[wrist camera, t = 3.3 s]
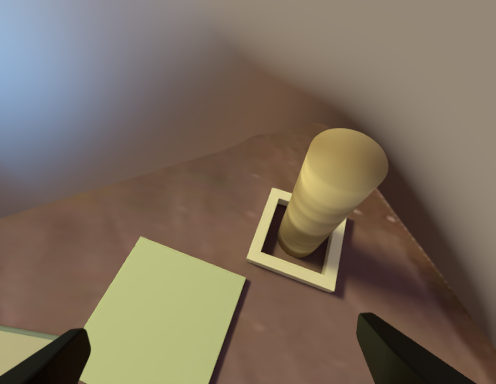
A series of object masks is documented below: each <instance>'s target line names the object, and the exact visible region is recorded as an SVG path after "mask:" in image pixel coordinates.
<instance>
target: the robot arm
mask: <svg viewBox="0 0 496 384" xmlns="http://www.w3.org/2000/svg"><path fill="white" fill-rule="evenodd" d="M356 334H357V339H358V342H359V345H360V347H361V350H362V352H363V355H364V357H365V360H366V362H367V365H368V367H369V370H370V372H371V375H372V377H373V380H374V382H375V384H476V383H475V382H473V381H472V380H470V379H469V378H467V377H466V376H464V375H463V374H461V373H460V372H458V371H457V370H456V369H454V368H453V367H451V366H450V365H448V364H447V363H445V362H444V361H442V360H441V359H439V358H438V357H437V356H435V355H434V354H432V353H431V352H429V351H428V350H426V349H425V348H423V347H422V346H420V345H419V344H417V343H416V342H415V341H413V340H412V339H410V338H409V337H407V336H406V335H404V334H403V333H401V332H400V331H398V330H397V329H396V328H394V327H393V326H391V325H390V324H388V323H387V322H385V321H384V320H382V319H381V318H379V317H378V316H376V315H375V314H373V313H370V312H368V313H360V314H359V315H358V322H357V331H356ZM90 354H91V345H90V341H89V337H88V333H87V330H86V329H84V328H77V329H71V330H69V331H67V332H66V333H64V334H63V335H61V336H60V337H58V338H57V339H55V340H54V341H52V342H51V343H49V344H48V345H46V346H45V347H43V348H42V349H40V350H39V351H37V352H36V353H34V354H32V355H31V356H29V357H28V358H26V359H25V360H23V361H22V362H20V363H19V364H17V365H16V366H14V367H13V368H11V369H10V370H8V371H7V372H5V373H4V374H2V375H1V376H0V384H78V381H79V379H80V377H81V375H82V373H83V370H84V368H85V366H86V364H87V361H88V359H89V357H90Z"/></svg>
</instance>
